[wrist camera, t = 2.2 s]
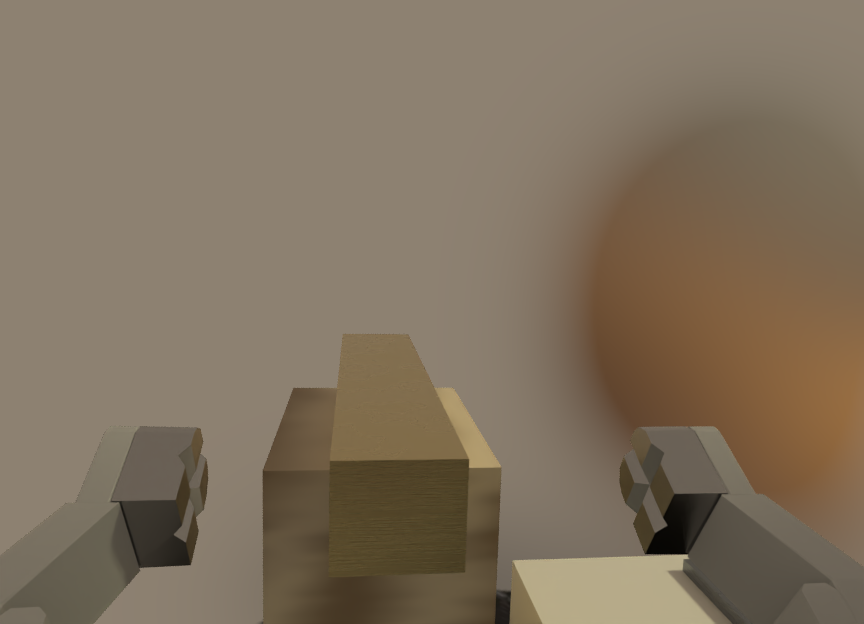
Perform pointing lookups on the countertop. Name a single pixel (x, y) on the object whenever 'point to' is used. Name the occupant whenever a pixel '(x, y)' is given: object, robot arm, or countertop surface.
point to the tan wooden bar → (393, 466)
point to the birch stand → (309, 532)
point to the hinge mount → (617, 592)
